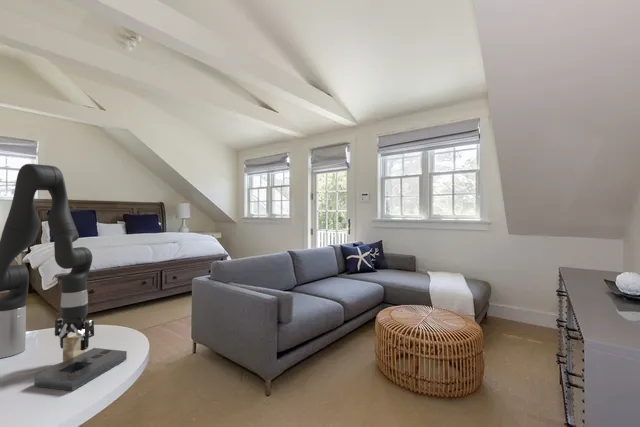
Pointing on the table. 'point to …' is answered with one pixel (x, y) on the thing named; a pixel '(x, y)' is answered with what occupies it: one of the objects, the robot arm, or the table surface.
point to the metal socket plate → (80, 369)
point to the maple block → (71, 347)
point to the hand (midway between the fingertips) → (74, 348)
